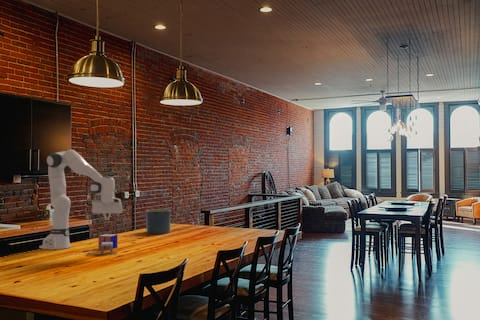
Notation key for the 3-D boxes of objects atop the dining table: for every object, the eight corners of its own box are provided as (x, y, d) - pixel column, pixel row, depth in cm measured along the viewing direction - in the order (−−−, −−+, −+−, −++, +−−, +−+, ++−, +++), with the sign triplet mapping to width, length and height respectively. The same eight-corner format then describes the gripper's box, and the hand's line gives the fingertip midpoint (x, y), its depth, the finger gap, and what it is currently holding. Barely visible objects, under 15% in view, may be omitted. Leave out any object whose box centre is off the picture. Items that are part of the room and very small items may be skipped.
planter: (147, 231, 415) (147, 209, 415) (171, 230, 417) (171, 209, 417) (144, 234, 393) (144, 211, 393) (170, 234, 395) (170, 211, 395)
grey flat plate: (85, 256, 296) (85, 256, 296) (87, 253, 308) (87, 252, 308) (116, 255, 300) (116, 254, 300) (117, 252, 312) (117, 251, 312)
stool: (101, 254, 301) (101, 244, 301) (102, 252, 308) (102, 242, 308) (111, 254, 302) (111, 243, 302) (112, 252, 309) (112, 241, 309)
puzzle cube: (111, 250, 319) (111, 236, 319) (98, 250, 321) (98, 236, 321) (117, 248, 329) (117, 234, 329) (105, 247, 331) (105, 234, 331)
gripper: (91, 199, 302) (90, 220, 301) (122, 200, 306) (121, 220, 306) (92, 199, 308) (91, 219, 308) (123, 199, 312) (122, 219, 312)
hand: (107, 219), depth 307 cm, fingers closed
